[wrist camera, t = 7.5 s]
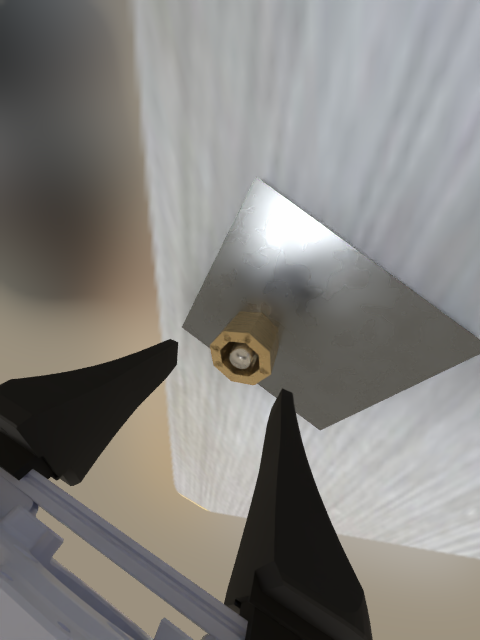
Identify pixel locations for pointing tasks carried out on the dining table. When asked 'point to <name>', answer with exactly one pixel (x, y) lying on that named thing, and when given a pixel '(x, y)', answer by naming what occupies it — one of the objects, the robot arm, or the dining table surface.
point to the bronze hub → (257, 336)
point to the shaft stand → (322, 313)
